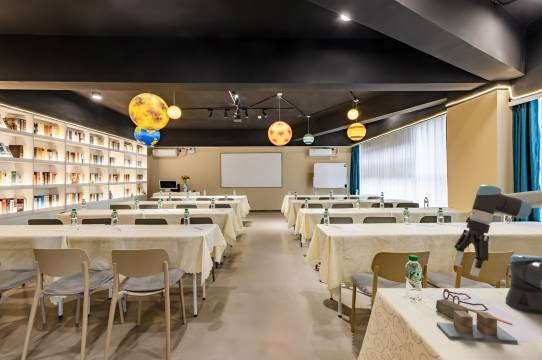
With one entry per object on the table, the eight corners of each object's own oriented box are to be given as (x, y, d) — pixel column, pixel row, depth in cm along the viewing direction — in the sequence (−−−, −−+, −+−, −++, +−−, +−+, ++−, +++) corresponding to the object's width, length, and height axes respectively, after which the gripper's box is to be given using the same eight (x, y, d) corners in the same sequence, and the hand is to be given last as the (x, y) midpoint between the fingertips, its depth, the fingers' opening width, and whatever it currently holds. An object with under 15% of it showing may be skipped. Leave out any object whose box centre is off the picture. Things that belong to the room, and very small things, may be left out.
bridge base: (498, 328, 108) (498, 310, 108) (517, 343, 98) (517, 323, 98) (436, 324, 111) (436, 306, 111) (449, 338, 101) (449, 318, 101)
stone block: (459, 322, 113) (459, 310, 113) (434, 310, 124) (434, 299, 124) (470, 320, 115) (469, 308, 115) (444, 308, 126) (444, 297, 126)
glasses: (442, 297, 139) (442, 287, 139) (470, 298, 138) (470, 288, 138) (457, 309, 126) (457, 297, 126) (488, 310, 125) (488, 299, 125)
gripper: (454, 215, 131) (441, 259, 132) (489, 223, 106) (472, 276, 107) (471, 220, 130) (457, 264, 131) (510, 229, 105) (493, 283, 106)
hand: (464, 270), depth 119 cm, fingers open, 13 cm apart
